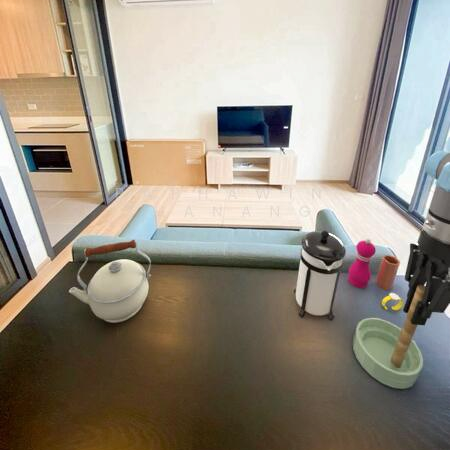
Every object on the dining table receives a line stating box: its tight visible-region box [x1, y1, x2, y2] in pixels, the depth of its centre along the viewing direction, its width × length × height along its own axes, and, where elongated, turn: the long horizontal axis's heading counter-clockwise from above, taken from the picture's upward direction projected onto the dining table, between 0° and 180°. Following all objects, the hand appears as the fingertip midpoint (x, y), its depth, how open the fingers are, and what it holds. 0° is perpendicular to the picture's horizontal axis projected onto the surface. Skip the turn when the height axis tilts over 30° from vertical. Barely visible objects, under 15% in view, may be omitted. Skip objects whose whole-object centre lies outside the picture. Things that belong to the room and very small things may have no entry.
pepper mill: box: [347, 238, 376, 289], centre depth 90 cm, size 7×7×20 cm
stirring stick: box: [390, 285, 426, 368], centre depth 60 cm, size 2×2×26 cm
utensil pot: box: [375, 254, 401, 291], centre depth 90 cm, size 5×5×12 cm
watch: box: [381, 292, 404, 311], centre depth 82 cm, size 6×3×6 cm, turn 87°
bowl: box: [352, 317, 424, 390], centre depth 67 cm, size 15×15×6 cm
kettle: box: [68, 239, 152, 324], centre depth 79 cm, size 25×18×25 cm
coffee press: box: [293, 230, 347, 321], centre depth 80 cm, size 17×16×30 cm
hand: (413, 317), depth 59 cm, fingers closed on stirring stick, 2 cm apart
